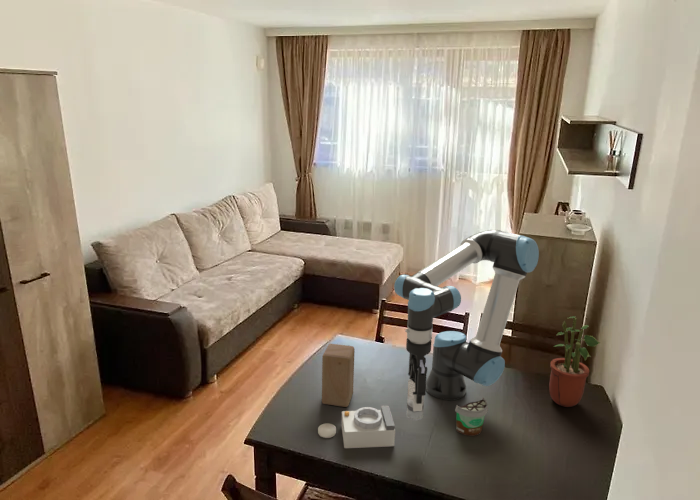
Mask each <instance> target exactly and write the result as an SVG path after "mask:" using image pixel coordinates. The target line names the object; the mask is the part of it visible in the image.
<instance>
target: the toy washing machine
mask: <svg viewBox="0 0 700 500" xmlns="http://www.w3.org/2000/svg"><path fill="white" fill-rule="evenodd" d="M340 427H341V433H342V443H343V448H344V449H358V448H359V449H361V448H363V449H364V448H381V447H382V448H383V447H385V448H386V447H395V439H396V429H395V428H396V424H395V422H394V418H393V415H392V412H391V408H390V405H380V409H377V408H374V407H371V406H365V407H360V408H357V409H355V410H343V411H341V426H340Z"/></svg>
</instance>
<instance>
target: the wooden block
mask: <svg viewBox="0 0 700 500" xmlns="http://www.w3.org/2000/svg"><path fill="white" fill-rule="evenodd" d="M355 353H356V352H355V347H354V346H352V345H345V344H344V345H343V344H338V343H337V344H336V343H329V344H328V345H327V347H326V349H325V350H324V352H323V354H322V358H321V360H322V361H321V363H322V364H321V403H322V404H323V405H329V406H334V407H335V406H336V407H344V408H347V407H349V405H350V403H351V400H352V397H353V394H354V379H355V376H354V375H355Z"/></svg>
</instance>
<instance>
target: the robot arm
mask: <svg viewBox="0 0 700 500" xmlns="http://www.w3.org/2000/svg"><path fill="white" fill-rule="evenodd" d="M539 256H540V252H539V246H538V243H537V242H536V240H535V239H533V238H531V237H528V236H525V235H521V234H515V233H512V232H507V231H503V230H500V229H487V230H483V231H479V232H478V233H477V232H476V233H475V234H473V235H470V236H468V237H467V238H464V239H463V240H462V241H461V243H460V245H458V246H457V247H455V248H454V249H453V250H451V251H449V252H448V253H446V254H444V255H443V256H441V257H440V258H438V259H436V260H435V261H434V262H432V263H430V264H428V265H426V267H424V268H422V269H420V270H419V271H417V272H415V273H414V274H413V275H409V274H400V275H399V276H398V277H397V278H396V280H395V281H394V285H393V289H394V293H395V294H396V295H397V296H399V297H401V298H403V300H407V324H406V325H407V327H406V328H405V330H404V331H405V333H406V345H405V348H406V351H407V353H409V357H408V360H409V361H408V373H407V375H408V376H409V379H411V378H415V392H413V395H414V402H413V411H422V405H423V396H424V397H425V396H426V391H427V393H428V394H430V395H431V396H433V397H435V398H437V399H439V400H445V401H455V400H459V399H462V398H463V397H464V396H465V395H466V392H467V390H466V389H467V386H466V381H465V378H467V379H469V380H471V381H473V382H474V383H475V384H479V385H482V386H484V387H489V386H492V385H494V384H495V383H496V382H497V381H498V380H499V379H500V377H502V374H503V372H504V370H505V367H506V364H505V363H506V361H505V358H503V357H502V354H503V349H502V347H501V341H502V339H503V335H504V332H505V329H506V325H507V323H508V319H509V315H510V314H511V313H510V312H511V309H512V306H513V304H514V301H515V297H516V293H517V290H518V287H519V283H520V281H521V280H523V279H525V278H526V277H527V273H532V272H533V271H535V268H536V267H537V265H538V263H539V262H538V261H539ZM481 261H487V262H491V263H493V265H492V269H493V271H494V276H493V280H492V283H491V286H490V289H489V293H488V295H487V298H486V302H485V305H484V308H483V312H482V315H481V317H480V318H481V319H480V322H479V324H478V327H477V331H476V334H475V336H474V337H473V338H470V339H469V342H468V341H467V340H468V338H467V335H466V334H465V333H464V332H461V331H457V330H456V331H455V330H446V331H441V332H439V333H437V334H436V335H435V336H434V341H433V342H432V339H433V322H434V318H437V317H439V316H441V315H444V314H447V313H449V312H452V311H454V310H455V309H458V307H460V305H461V303H462V295H461V293H460V291H459V289H457V287H455V286H453V285H447V286H443V287H440V285H441V284H444V282H446V281H448V280H450V278H452V277H453V276H455V275H456V274H458V273H460V272H461V271H463V270H464V269H465V268H467V267H468V266H470V265H471V264H479V263H480V262H481ZM432 343H433V344H432ZM432 346H433V351H432ZM431 352H432V363H431V370H430V372H429V374H428V376H427V373H428V367H427V366H426V363H427V360H426V357H425V356H427V355H429V354H431ZM409 379H408V380H409Z"/></svg>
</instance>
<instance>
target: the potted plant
mask: <svg viewBox="0 0 700 500" xmlns="http://www.w3.org/2000/svg"><path fill="white" fill-rule="evenodd" d="M568 319H572V326H571V327H567V326H568V325H567V322H566V320H564V321H563V322H562V326H561V327H562V329H563V332H562V331H560V332H559V331H558V332H557V334H556V336H563V335H564V337H563V338H564V343H559V344H556V345H554V346H553V347H564V357H558V358H553V359H552V360H551V361H550V366H549V367H550V369H551V371H550V375H549V384H548V386H549V389H548V391H549V395H550V398H551V400H552V401H553V402H554V403H555V404H557V405H559V406H560V407H565V408H571V407H574V406H576V405H577V404H579V403H580V402H581V399H582V397H583V395H584V391H585V387H586V382H587V381H586V380H587V378H588V377H589V375H590V369H589V367H588V366H587V365H586V364H585V363H583V362H581V361H580V360H581V359H580V358H581V356H582V357H583V359H584V361H586V360H587V359H588V358H589V357H590V358H592V356H591V355H590V354H589V352H588V350H587V348H586V347H581V345H582V344H581V342H582V341H584V342H585V343H586V345H587V347H588V346H589V347H596V346H598V345H599V344H601V342H599V340H597V339H596V337H594V336H593V335H588V334H584V330H586V329H587V328H589V325H588V324H586V325H582V327H580V329H576V325H577V317H576V315H575V316H574V315H573V316H570V317H568ZM568 331H570V332H571V333H570V334H571V335H570V342H569V335H568ZM575 332H579V335H578V338H577V339H576V338H575V334H576V333H575ZM583 334H584V335H583ZM582 337H583V338H582ZM581 340H582V341H581ZM575 341H576V342H575ZM574 342H575V348H574ZM569 343H570V344H569ZM573 348H574V352H573Z"/></svg>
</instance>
